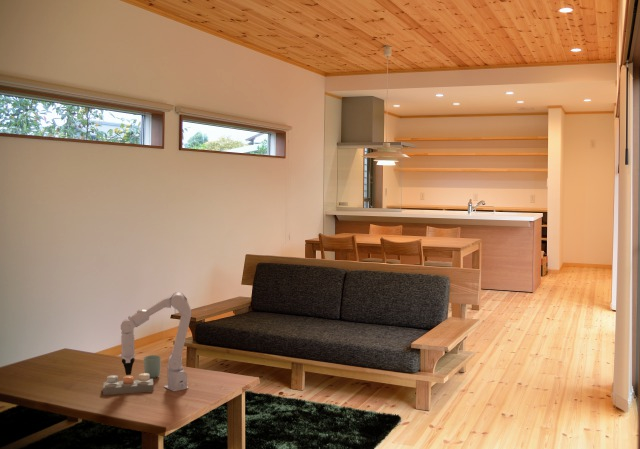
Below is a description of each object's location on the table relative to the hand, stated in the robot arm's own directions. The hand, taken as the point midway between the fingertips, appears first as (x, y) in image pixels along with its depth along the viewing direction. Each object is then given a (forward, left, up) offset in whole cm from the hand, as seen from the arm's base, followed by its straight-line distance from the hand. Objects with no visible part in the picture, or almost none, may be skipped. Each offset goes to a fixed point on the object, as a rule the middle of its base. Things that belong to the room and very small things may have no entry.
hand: (128, 374), depth 312 cm
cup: (+11, -18, -7) cm, 22 cm away
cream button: (-3, -6, -3) cm, 8 cm away
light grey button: (+3, +6, -3) cm, 8 cm away
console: (0, 0, -7) cm, 7 cm away
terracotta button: (0, 0, -4) cm, 4 cm away
